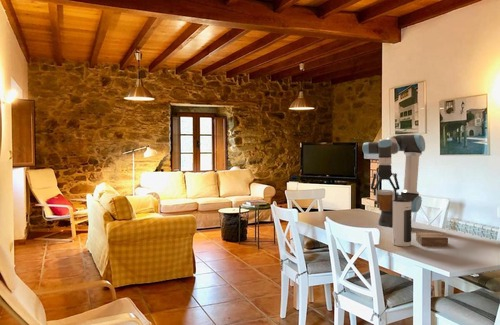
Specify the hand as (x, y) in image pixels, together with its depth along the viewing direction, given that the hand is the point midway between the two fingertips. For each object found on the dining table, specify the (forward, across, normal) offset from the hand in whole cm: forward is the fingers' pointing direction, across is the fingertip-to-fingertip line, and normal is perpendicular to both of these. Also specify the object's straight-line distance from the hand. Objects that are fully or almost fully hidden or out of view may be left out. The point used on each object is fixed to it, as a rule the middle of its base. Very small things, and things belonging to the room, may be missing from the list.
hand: (384, 200), depth 252 cm
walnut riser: (+23, +25, -10) cm, 35 cm away
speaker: (+23, +7, -16) cm, 29 cm away
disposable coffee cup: (+6, 0, 0) cm, 6 cm away
